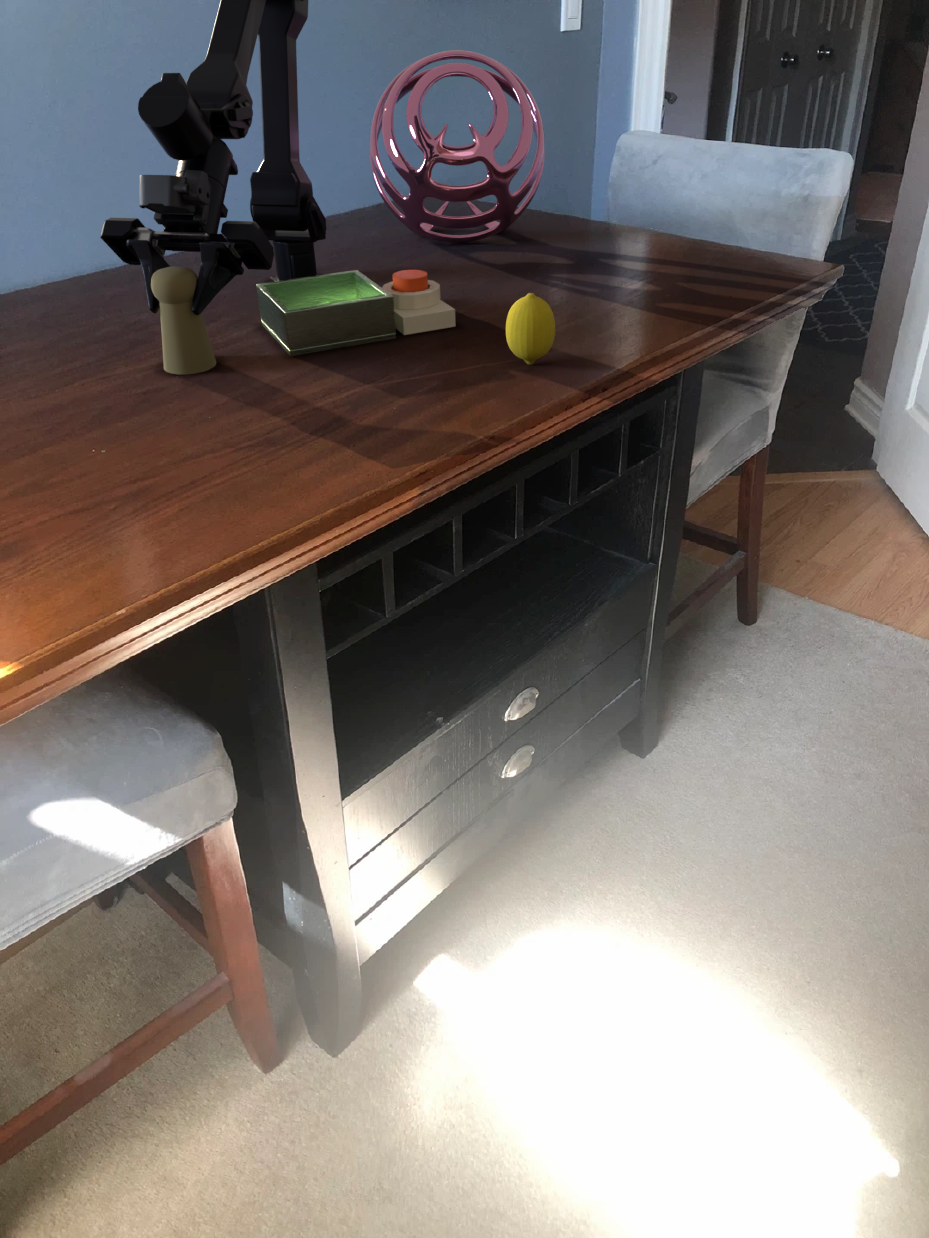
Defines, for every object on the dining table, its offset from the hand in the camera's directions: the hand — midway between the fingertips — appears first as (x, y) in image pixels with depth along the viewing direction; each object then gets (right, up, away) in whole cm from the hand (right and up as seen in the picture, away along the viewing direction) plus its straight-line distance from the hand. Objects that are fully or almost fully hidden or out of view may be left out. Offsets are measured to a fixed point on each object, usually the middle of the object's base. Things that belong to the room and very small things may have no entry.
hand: (173, 312), depth 110 cm
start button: (+26, +8, +15) cm, 31 cm away
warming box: (+15, +2, +14) cm, 21 cm away
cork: (0, -5, +5) cm, 7 cm away
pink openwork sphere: (+31, +29, +53) cm, 68 cm away
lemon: (+40, -5, +2) cm, 40 cm away
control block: (+26, +5, +17) cm, 32 cm away
